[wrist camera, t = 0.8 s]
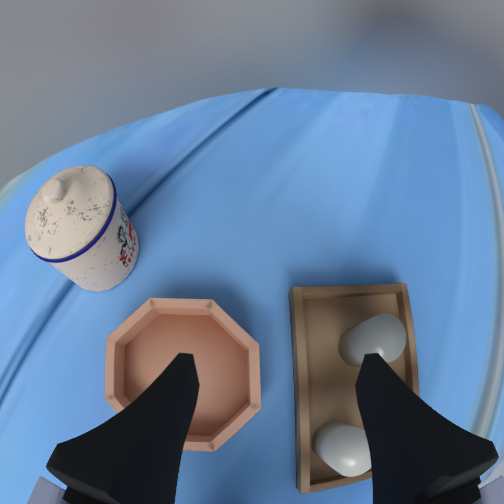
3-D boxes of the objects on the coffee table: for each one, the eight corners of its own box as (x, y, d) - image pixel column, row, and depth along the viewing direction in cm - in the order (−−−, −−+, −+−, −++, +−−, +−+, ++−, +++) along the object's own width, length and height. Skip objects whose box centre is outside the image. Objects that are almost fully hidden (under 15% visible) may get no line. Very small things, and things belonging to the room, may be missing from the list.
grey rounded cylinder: (376, 363, 24) (408, 358, 19) (339, 369, 23) (367, 366, 18) (372, 324, 25) (402, 311, 20) (336, 327, 25) (362, 315, 20)
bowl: (258, 441, 21) (262, 450, 18) (120, 433, 19) (107, 439, 16) (253, 308, 26) (257, 299, 23) (122, 304, 25) (110, 295, 22)
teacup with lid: (152, 276, 26) (111, 211, 16) (75, 307, 24) (5, 262, 13) (127, 186, 30) (98, 110, 20) (62, 214, 28) (16, 150, 17)
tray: (408, 457, 20) (418, 460, 18) (296, 487, 19) (300, 493, 17) (397, 288, 28) (406, 283, 26) (288, 292, 27) (292, 286, 25)
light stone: (351, 455, 20) (379, 469, 15) (311, 463, 19) (332, 481, 14) (351, 417, 21) (381, 425, 16) (311, 424, 21) (332, 436, 16)
